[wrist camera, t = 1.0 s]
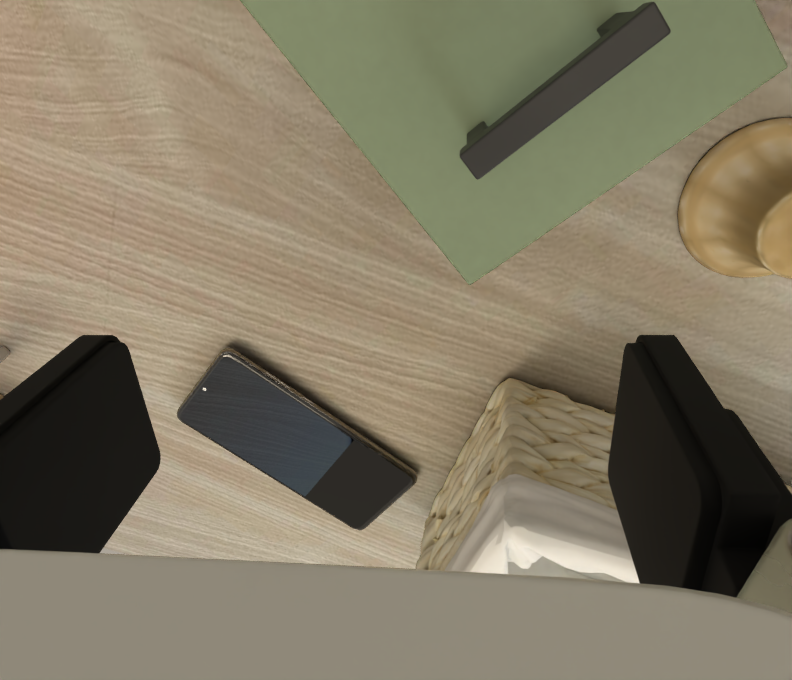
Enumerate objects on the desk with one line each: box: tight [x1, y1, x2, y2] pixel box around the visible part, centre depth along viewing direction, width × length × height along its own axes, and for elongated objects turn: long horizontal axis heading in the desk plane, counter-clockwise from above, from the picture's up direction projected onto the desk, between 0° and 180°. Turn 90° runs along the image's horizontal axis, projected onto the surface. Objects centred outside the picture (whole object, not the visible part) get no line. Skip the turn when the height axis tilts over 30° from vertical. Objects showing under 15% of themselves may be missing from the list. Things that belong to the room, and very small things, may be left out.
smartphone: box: [177, 348, 417, 530], centre depth 41 cm, size 7×1×16 cm
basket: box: [416, 378, 792, 583], centre depth 34 cm, size 24×16×15 cm
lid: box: [240, 0, 787, 285], centre depth 18 cm, size 15×13×5 cm
